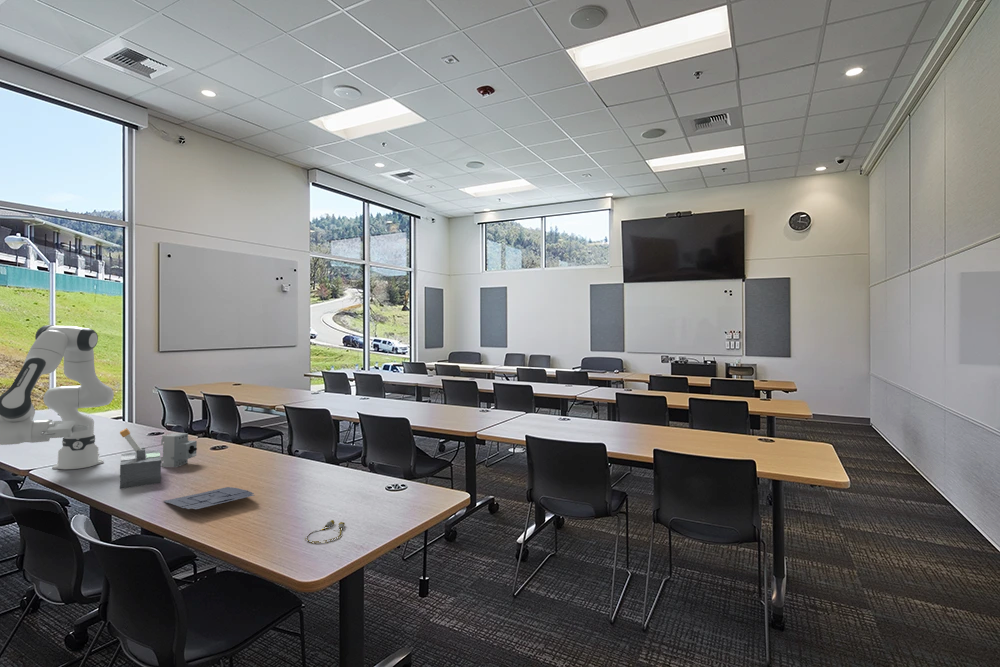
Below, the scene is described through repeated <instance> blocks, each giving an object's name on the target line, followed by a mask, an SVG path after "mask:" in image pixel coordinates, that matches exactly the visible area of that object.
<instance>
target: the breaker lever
mask: <svg viewBox="0 0 1000 667" xmlns="http://www.w3.org/2000/svg"><path fill="white" fill-rule="evenodd" d="M119 434H120V436H121V437H122V438H124V439H125V440H126V441H127V443H128V444H129V446H130V447H131V448H132V449H133V451H134V453H137V450H142V449H141V448H142V447H141V446H140V445H139V444H138V443H137V441H136V440H135V439H134V438H133V436H132V435H131V431H130V430H129V429H128V428H124V429H123V430H121V431H119Z"/></svg>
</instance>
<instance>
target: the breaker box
mask: <svg viewBox="0 0 1000 667" xmlns="http://www.w3.org/2000/svg"><path fill="white" fill-rule="evenodd" d="M140 448H141V449H142V450H137V453H136V452H128V453H121V456H120V464H119V465H120V466H119V489H120V490H121V489H127V488H135V487H142V486H151V485H158V484H161V479H162V476H161V475H162V467H161V453H160V452H161V451H160V450H159V449H157V450H147V451H146V446H145V447H143V446H142V447H140Z"/></svg>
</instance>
